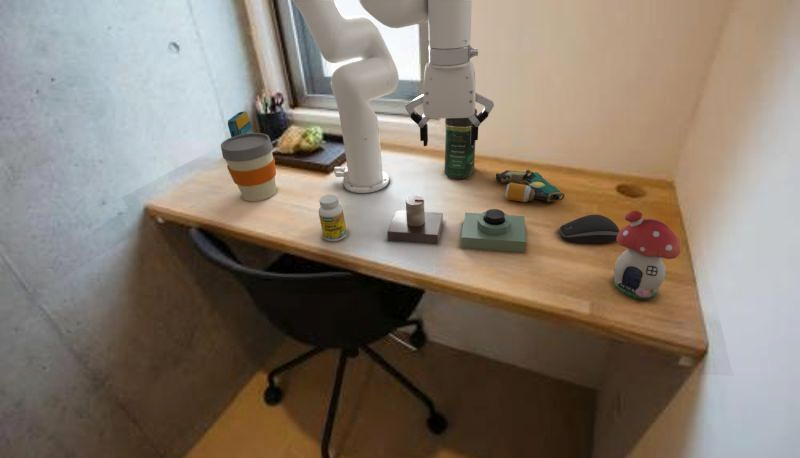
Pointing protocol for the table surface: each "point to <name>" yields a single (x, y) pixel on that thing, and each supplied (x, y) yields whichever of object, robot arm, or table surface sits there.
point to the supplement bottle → (332, 218)
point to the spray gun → (528, 186)
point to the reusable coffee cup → (251, 165)
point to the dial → (415, 211)
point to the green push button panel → (494, 233)
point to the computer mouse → (590, 230)
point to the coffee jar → (458, 148)
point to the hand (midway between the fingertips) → (448, 143)
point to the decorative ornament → (643, 256)
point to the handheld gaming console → (240, 124)
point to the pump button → (494, 217)
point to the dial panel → (415, 228)
